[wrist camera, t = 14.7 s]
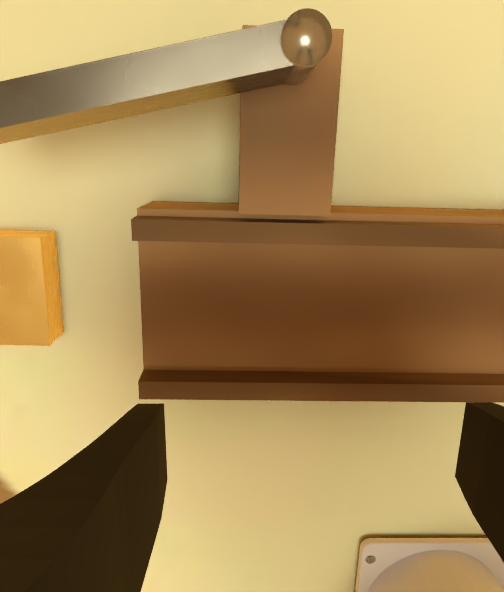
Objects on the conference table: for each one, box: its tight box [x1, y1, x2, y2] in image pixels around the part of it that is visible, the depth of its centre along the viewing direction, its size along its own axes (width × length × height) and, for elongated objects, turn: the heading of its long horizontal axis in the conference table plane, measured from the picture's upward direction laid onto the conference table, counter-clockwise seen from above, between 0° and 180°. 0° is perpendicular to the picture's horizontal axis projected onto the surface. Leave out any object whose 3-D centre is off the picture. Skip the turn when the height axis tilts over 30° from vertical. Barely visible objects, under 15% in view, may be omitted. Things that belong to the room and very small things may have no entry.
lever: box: [0, 9, 332, 144], centre depth 13 cm, size 11×1×3 cm, turn 101°
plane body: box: [131, 25, 504, 402], centre depth 18 cm, size 12×16×4 cm
